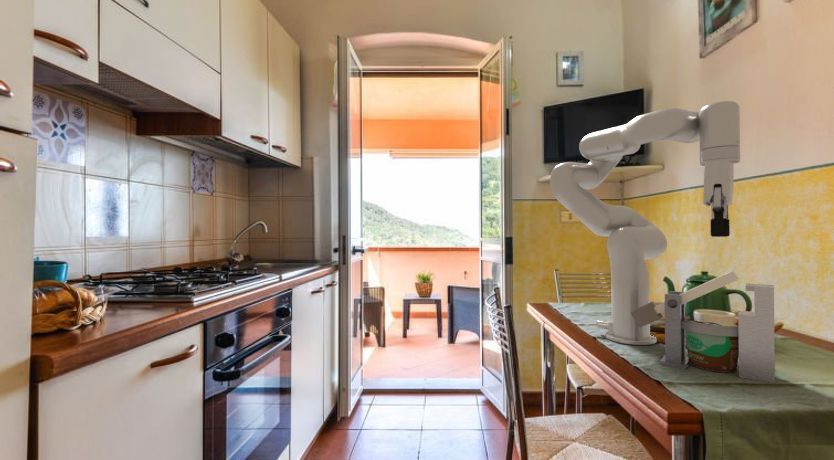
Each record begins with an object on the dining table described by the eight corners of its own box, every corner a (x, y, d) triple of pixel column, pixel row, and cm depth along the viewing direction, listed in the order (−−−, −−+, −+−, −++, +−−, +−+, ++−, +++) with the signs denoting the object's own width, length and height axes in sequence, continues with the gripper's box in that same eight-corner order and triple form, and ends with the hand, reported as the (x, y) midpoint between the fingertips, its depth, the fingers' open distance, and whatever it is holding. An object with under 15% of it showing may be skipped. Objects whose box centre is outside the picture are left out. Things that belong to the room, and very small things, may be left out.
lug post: (739, 376, 84) (738, 285, 84) (740, 370, 88) (739, 283, 88) (774, 383, 81) (773, 287, 81) (774, 376, 85) (773, 285, 85)
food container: (669, 360, 95) (668, 317, 95) (687, 357, 97) (687, 315, 97) (725, 377, 83) (724, 329, 83) (744, 373, 86) (744, 326, 86)
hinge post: (659, 364, 92) (659, 294, 93) (666, 356, 99) (665, 290, 99) (685, 369, 89) (685, 296, 89) (691, 360, 95) (690, 292, 95)
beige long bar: (639, 327, 97) (629, 312, 99) (643, 325, 100) (633, 310, 101) (741, 284, 85) (728, 267, 86) (742, 282, 87) (729, 266, 89)
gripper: (703, 163, 103) (704, 236, 103) (695, 154, 90) (695, 237, 90) (741, 159, 98) (742, 236, 98) (738, 149, 85) (738, 237, 85)
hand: (720, 235), depth 94 cm, fingers open, 3 cm apart
